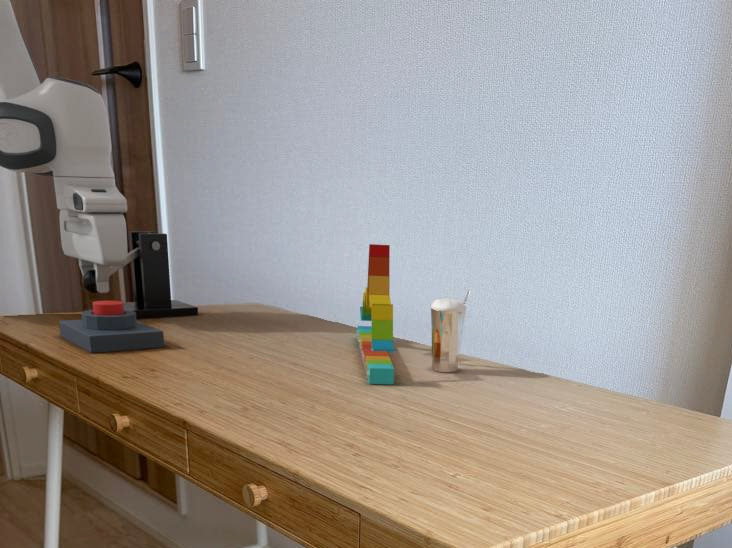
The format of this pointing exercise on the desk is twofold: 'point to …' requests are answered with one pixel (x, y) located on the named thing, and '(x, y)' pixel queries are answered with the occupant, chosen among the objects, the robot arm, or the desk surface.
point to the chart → (377, 319)
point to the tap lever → (91, 274)
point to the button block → (111, 332)
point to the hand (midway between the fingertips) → (97, 290)
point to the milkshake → (447, 333)
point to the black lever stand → (153, 279)
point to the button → (108, 308)
